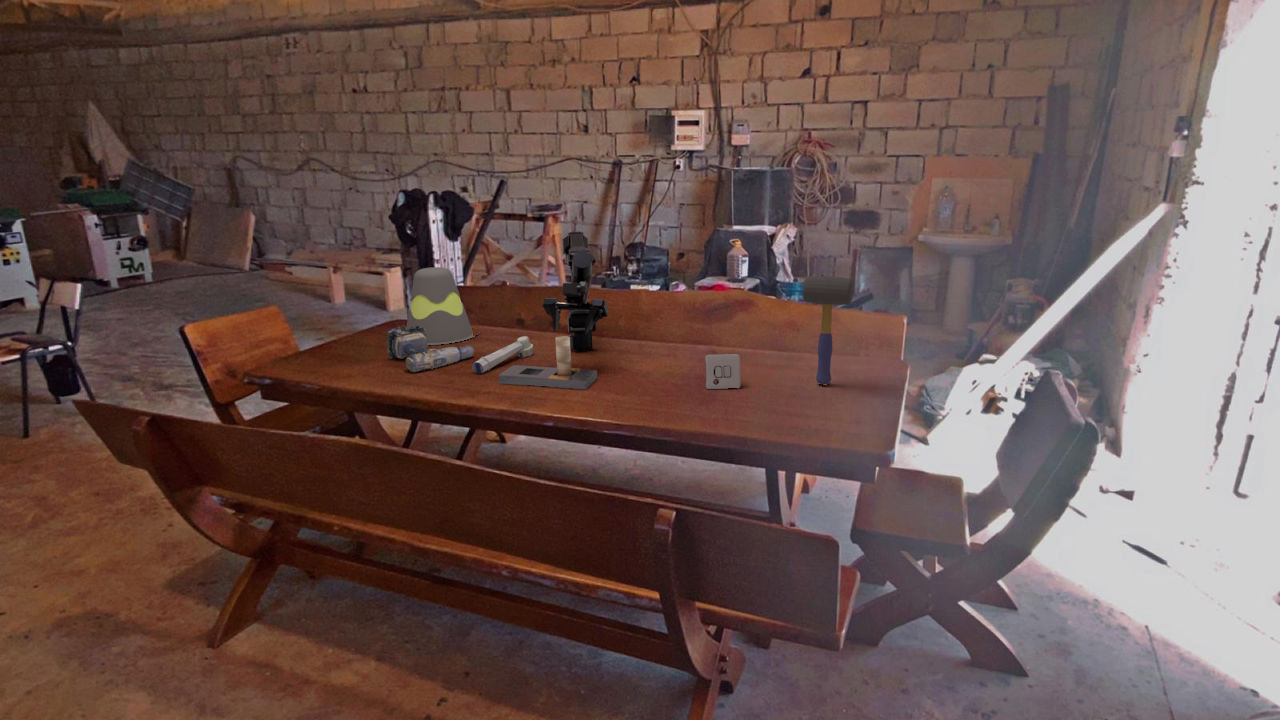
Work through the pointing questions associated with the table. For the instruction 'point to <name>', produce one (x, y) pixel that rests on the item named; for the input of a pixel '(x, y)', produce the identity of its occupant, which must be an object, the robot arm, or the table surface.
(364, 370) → the table surface
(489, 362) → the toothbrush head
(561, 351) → the birch peg
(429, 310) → the grey tapered bucket
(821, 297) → the rubber mallet
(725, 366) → the electrical switch
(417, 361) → the power drill
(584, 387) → the grey peg hole board
